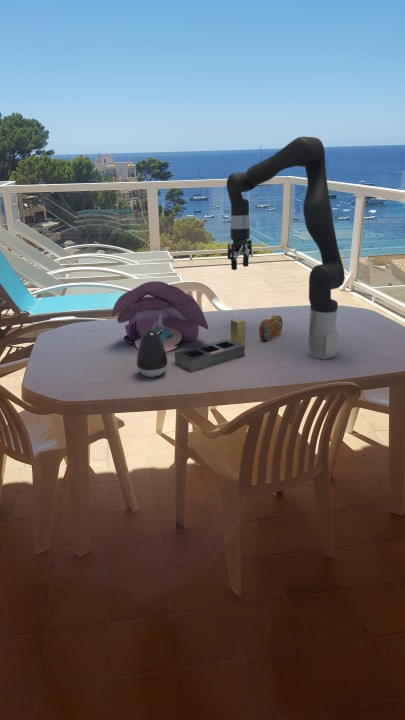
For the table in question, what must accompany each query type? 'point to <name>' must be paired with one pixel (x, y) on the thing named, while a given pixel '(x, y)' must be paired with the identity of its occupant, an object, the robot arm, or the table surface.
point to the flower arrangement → (160, 314)
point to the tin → (270, 327)
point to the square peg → (238, 330)
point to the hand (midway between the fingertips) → (240, 268)
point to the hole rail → (209, 354)
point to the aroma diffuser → (151, 354)
